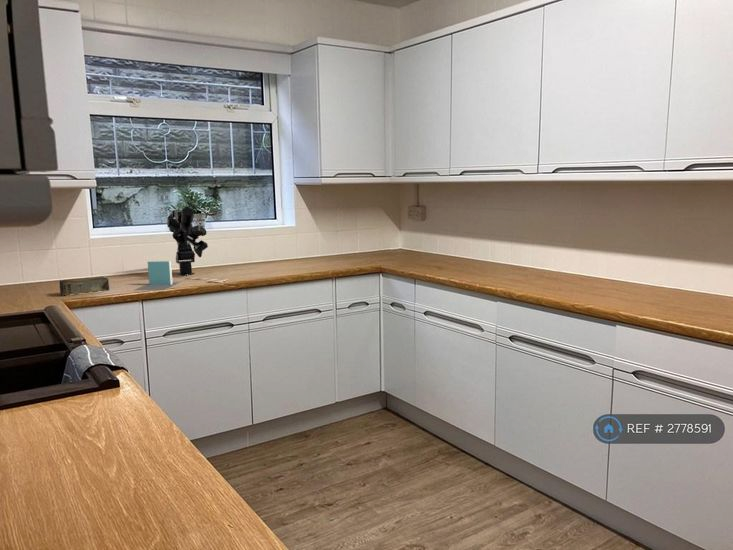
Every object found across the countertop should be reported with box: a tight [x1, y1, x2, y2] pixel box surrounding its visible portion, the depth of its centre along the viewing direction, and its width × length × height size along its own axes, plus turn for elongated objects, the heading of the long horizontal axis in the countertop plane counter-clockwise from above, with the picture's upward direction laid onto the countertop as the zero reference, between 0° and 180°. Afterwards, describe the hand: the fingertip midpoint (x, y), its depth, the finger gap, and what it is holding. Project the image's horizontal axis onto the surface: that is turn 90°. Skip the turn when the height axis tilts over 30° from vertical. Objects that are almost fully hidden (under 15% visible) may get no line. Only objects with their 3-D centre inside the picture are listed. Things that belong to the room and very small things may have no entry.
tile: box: [147, 260, 173, 285], centre depth 273 cm, size 2×10×11 cm, turn 88°
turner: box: [185, 277, 229, 284], centre depth 284 cm, size 22×7×1 cm, turn 69°
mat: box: [134, 281, 181, 291], centre depth 270 cm, size 20×14×1 cm
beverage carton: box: [59, 275, 110, 296], centre depth 258 cm, size 8×19×7 cm, turn 126°
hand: (193, 253), depth 284 cm, fingers open, 9 cm apart
